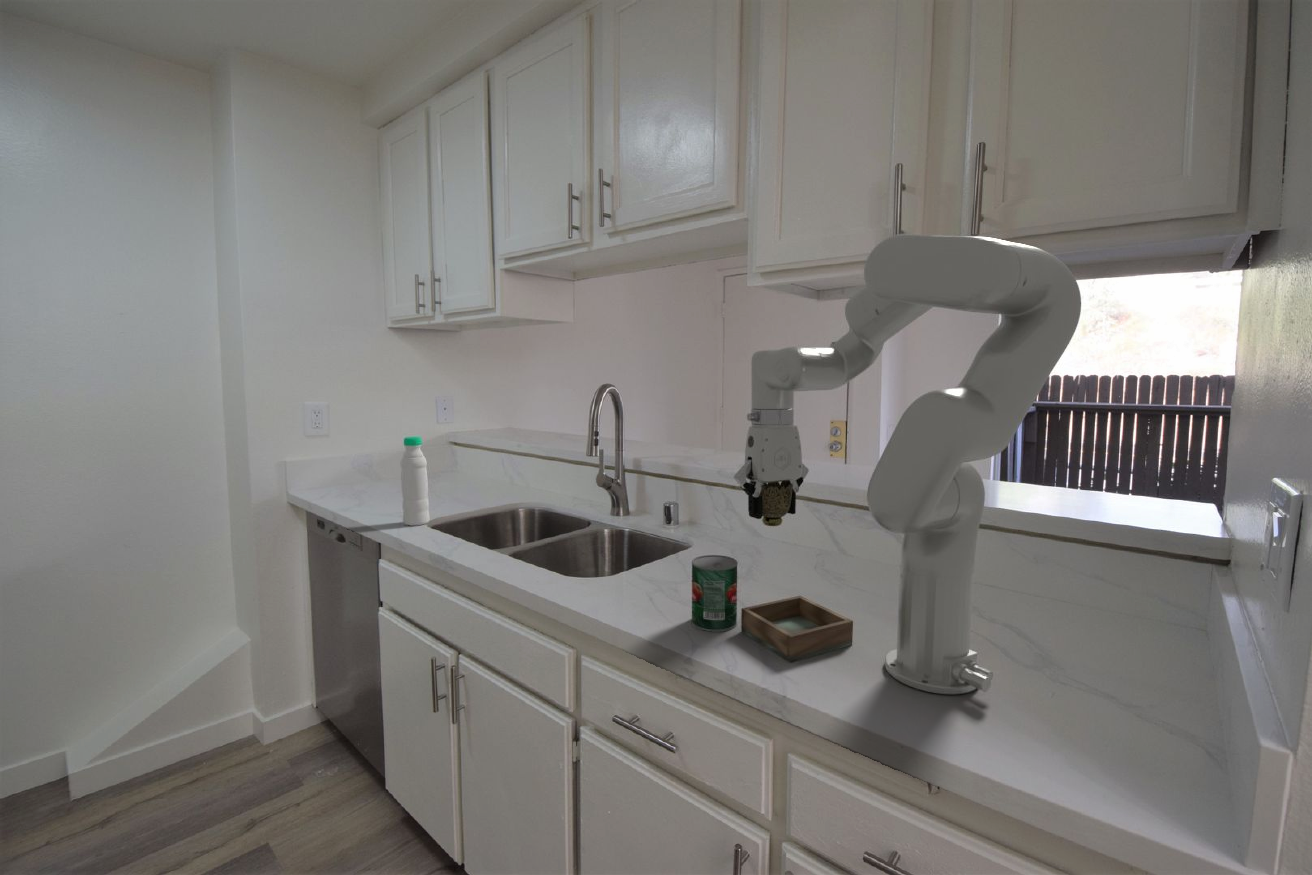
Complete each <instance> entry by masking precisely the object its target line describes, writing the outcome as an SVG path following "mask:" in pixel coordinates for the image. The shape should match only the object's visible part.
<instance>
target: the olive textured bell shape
mask: <svg viewBox="0 0 1312 875" xmlns="http://www.w3.org/2000/svg"><path fill="white" fill-rule="evenodd" d="M755 485H756V484H755ZM755 485H754V488H755ZM792 489H793V484H792V485H790V484H789V481H787V482H786V483H785V484H783V483H782V482H773V483H764V484H763V486H762V489H761V492H760V495H759V497H762V518H761V519H762V520H761V522H762V524H763V525H764V526H767V527H778V526H781V525H782V523H783V517H784V516H786V515H787V514H789V513H788V511H789V508H790V504H791V497H792Z"/></svg>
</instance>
